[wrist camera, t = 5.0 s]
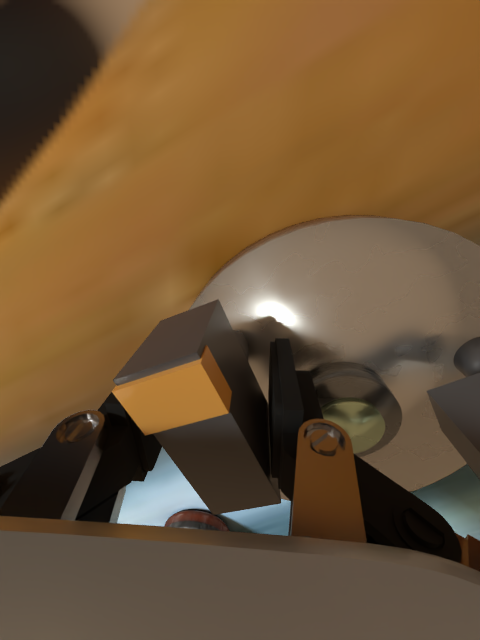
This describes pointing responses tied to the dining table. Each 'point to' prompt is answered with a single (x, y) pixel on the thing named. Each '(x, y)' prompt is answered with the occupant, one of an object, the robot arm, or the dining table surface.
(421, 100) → the dining table surface
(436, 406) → the grey chuck jaw
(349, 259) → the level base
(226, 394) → the grey and orange block
